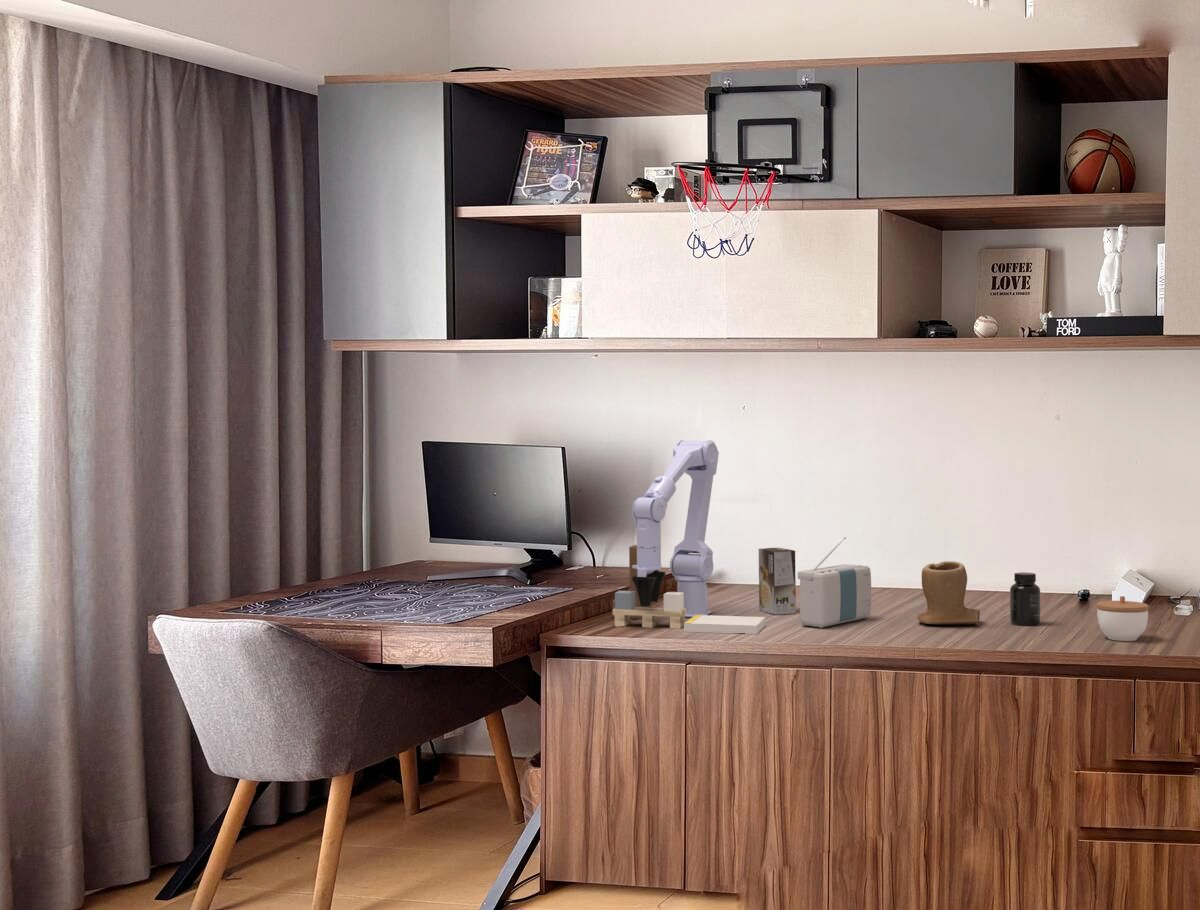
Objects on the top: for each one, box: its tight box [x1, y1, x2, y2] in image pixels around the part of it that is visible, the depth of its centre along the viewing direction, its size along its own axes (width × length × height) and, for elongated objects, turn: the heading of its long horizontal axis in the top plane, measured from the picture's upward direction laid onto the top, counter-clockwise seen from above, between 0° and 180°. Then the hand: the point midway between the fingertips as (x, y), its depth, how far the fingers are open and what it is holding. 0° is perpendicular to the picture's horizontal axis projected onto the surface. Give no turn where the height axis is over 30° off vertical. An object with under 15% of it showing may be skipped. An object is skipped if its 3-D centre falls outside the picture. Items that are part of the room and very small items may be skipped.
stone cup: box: [916, 560, 981, 626], centre depth 316 cm, size 15×12×15 cm
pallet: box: [612, 607, 686, 630], centre depth 320 cm, size 5×17×4 cm, turn 74°
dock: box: [683, 614, 767, 635], centre depth 314 cm, size 13×17×2 cm
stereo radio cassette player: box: [797, 536, 872, 629], centre depth 321 cm, size 21×8×20 cm, turn 136°
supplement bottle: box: [1009, 571, 1041, 627], centre depth 316 cm, size 7×7×12 cm
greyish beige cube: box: [663, 591, 684, 611], centre depth 318 cm, size 4×4×4 cm
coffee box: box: [758, 547, 797, 616], centre depth 339 cm, size 9×6×16 cm
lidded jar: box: [1096, 596, 1149, 642], centre depth 294 cm, size 11×11×9 cm
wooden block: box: [612, 544, 652, 620], centre depth 333 cm, size 9×4×18 cm, turn 71°
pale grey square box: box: [614, 590, 635, 610], centre depth 322 cm, size 4×4×4 cm
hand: (649, 603), depth 320 cm, fingers open, 7 cm apart
